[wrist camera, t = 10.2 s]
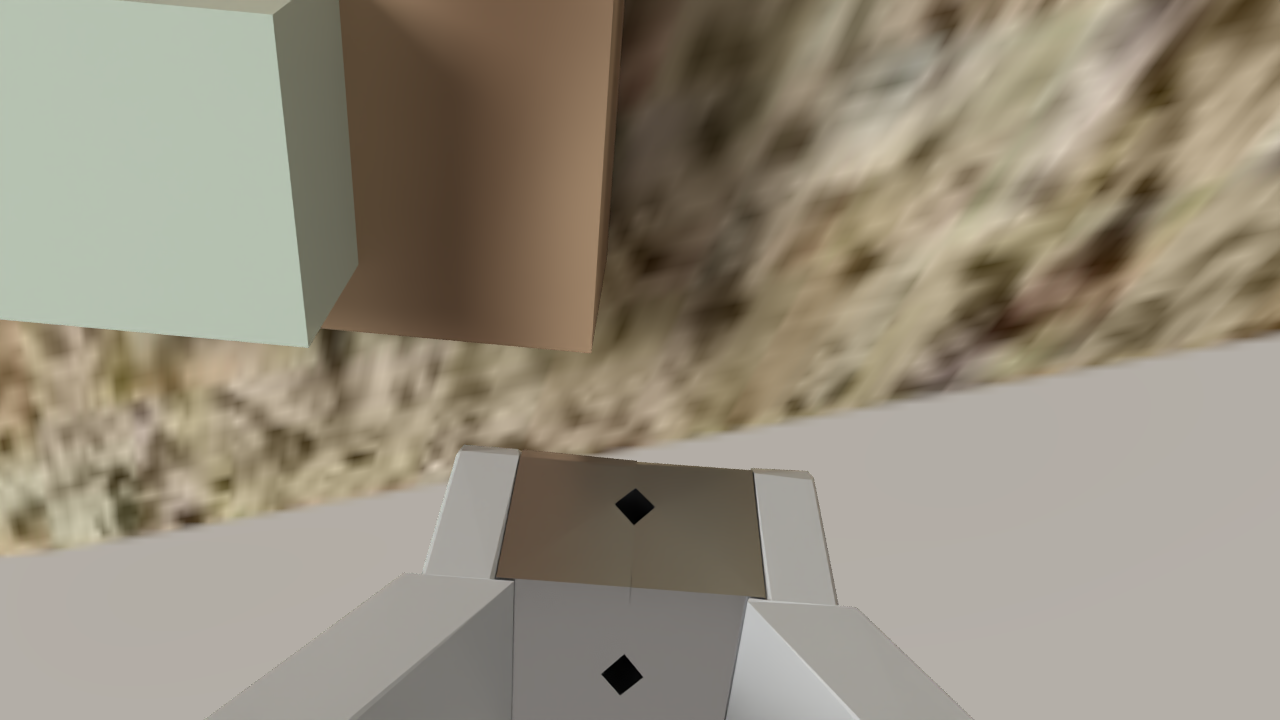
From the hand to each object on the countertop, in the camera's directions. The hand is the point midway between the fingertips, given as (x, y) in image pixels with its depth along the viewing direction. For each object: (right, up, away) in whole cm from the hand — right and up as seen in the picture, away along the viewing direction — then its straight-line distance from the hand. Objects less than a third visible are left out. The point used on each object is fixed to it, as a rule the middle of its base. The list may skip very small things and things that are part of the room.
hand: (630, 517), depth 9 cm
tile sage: (-6, +5, +6) cm, 10 cm away
